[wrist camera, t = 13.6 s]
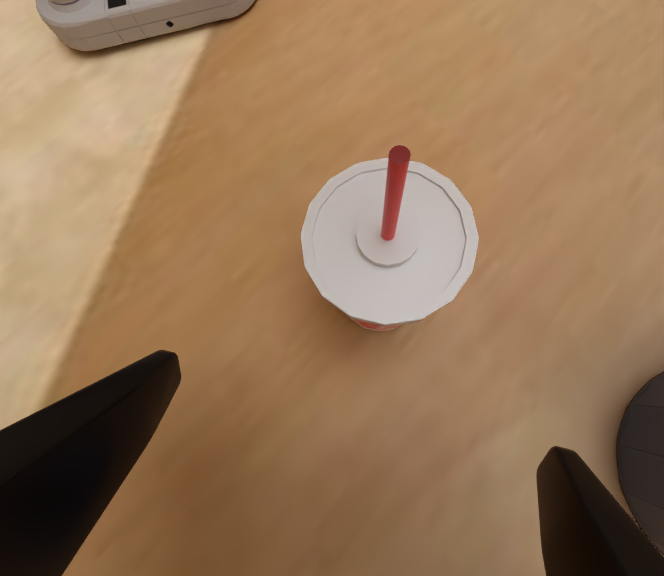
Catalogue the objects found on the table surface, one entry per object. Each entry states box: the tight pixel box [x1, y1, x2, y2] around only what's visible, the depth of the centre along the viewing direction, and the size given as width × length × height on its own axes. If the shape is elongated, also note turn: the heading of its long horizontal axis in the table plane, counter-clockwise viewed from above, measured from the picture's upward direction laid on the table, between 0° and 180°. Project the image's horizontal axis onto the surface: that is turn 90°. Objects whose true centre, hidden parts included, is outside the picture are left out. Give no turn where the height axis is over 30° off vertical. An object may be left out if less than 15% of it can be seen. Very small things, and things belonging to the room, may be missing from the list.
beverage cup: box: [301, 145, 479, 332], centre depth 15 cm, size 6×6×14 cm
